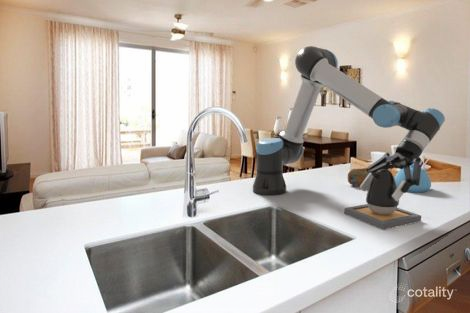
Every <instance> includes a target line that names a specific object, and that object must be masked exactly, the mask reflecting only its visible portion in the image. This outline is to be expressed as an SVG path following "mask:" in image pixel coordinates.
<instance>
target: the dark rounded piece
mask: <svg viewBox="0 0 470 313" xmlns="http://www.w3.org/2000/svg"><path fill="white" fill-rule="evenodd" d="M372 176H373V178H372V180H371V182H370V185H369V187H368V188H367V190H366V191H367V192H366V198H365V202H366V204H367V205H368V207H369V209H370V210H371V211H372V212H374V213H376V214H379V215H389V214H392V213H393V212H394V211H395V210H396V209H397V208H398V206H399V205H400V199H399V200H398V202H397V201H395V200H394V198H393V197H392V195H393V193H394V192H395V191H396V189H397V185H396V181H395V176H394V174H393V173H392V172H391V170H390V169H388V170H387V169H380V170H378V171H377V172H376V173H372Z"/></svg>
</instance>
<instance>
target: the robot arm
mask: <svg viewBox="0 0 470 313" xmlns="http://www.w3.org/2000/svg"><path fill="white" fill-rule="evenodd" d="M338 62H339V61H338V59H337V56H336V55H335V53H334V52H332V51H330V50H329V49H326V48H323V47H322V48H321V47H317V46H313V45H310V46H305V47H303V48H302V49H300V50H299V51H298V52H297V54H296V56H295V61H294V65H295V69H296V70H297V72H298V73H299V74H300V79H301V84H300V87H299V90H298V93H297V96H296V97H295V101H294V103H293V107H292V109H291V111H290V114H289V118H288V121H287V123H286V125H285V129H284V130H283V131H280V133H279V135H278V137H269V138H263V139H260V140H259V141H258V142H257V143H256V149H255V150H256V152H255V153H256V175H255V178H254V181H253V183H252V192H253V193H256V194H257V195H266V196H276V195H277V196H278V195H283V194H285V193H286V192H287V184H286V181H285V178H284V175H283V172H284V171H283V169H284V168H283V167H284V165H285V166H286V165H290V164H293V163H296V162H297V161H299V160H300V159H301V158H302V156H303V154H304V152H305V151H304V150H305V149H304V146H303V145H304V138H303V136H304V133H305V131H306V128H307V125H308V123H309V120H310V117H311V115H312V112H313V110H314V107H315V105H316V102H317V99H318V98H319V94H320V92H321V89H322V88H323V87H325V88H326V89H328V90H329V91H331V92H333V93H334V94H335V95H337V96H339V97H340V98H342V99H343V100H344V101H346V102H347V103H349V104H351V105H352V106H353V107H355V108H356V109H357V110H359V111H361V112H362V113H363V114H365V115H367V116H368V117H370V118H371V119H372V120H373V123H374V124H375V125H376V126H378V127H380V128H388V129H389V128H392V127H396V126H397V127H400V128H403V129H405V130H407V131H408V132H407V133H406V135H405V136H404V137H403V139H402V140H401V141H400V143H399V144H398V145H397V147H396V149H395V152H394V153H393V154H391V153H389V152H385V153H384V155H382V156H381V157H380V158H378V159H377V160H376V161H375V162H373V163H372V164H370V165H368V166H367V167H365V168H366V171H367V172H368V174H367V175H366V177H365V178H364V181H363V182H362V184H361V185H360V186H358V187H359V188H360V189H361V190H362V191H363V192H366V191H367V190H368V188H369V185H370V182H371V180H372V178H373V176H372V173H373V172H374V173H376V172H377V171H378V170H380V169H387V170H390V169H392V170H393V169H399V170H400V169H404V174H405V178H406V179H405V180H406V182H405V181H404V180H403V181H402V182H401V184H400V185H399V186H398V188H397V189H396V191H395V192H394V193H393V195H392V197H393V198H394V200H395V201H397V202H398V200H399V201H400V199H401V197H402V196H403V195H404V194H405V193H407V192H408V191H407V190H408V189H409V188H410V186H412V185H416V186H418V185H419V184H420V174H421V168H423V167H422V166H423V165H424V161H423V160H422V158H421V157H420V156H421V155H422V154H423V152H424V151H425V149H426V148H427V147H428V145H429V144H430V142H431V141H432V140H433V138H434V137H435V136H436V135H437V133H438V132H439V131H440V129H441V127H442V126H443V124H444V122H445V121H446V119H445V118H446V117H445V115H444V113H443V112H442V111H440V110H439V109H437V108H426V109H424V110H423V111H420V110H417V109H415V108H413V107H412V108H411V107H409V106H407V105H404V104H402V103H400V102H398V101H394V100H386V99H384V98H383V97H382V96H381V95H379V94H378V93H375V91H373V90H371V89H369V88H368V87H367V86H365V85H363V84H361V83H360V82H359V81H357V80H355V79H353V78H352V77H350V76H349V75H347V74H346V73H344V72H343V71H341V70H339V69H338V67H339V66H338V64H339V63H338ZM412 164H414V168H413V177H412V176H411V172H410V171H411V170H410V165H412Z"/></svg>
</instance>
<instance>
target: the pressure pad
mask: <svg viewBox="0 0 470 313" xmlns="http://www.w3.org/2000/svg"><path fill="white" fill-rule="evenodd" d="M356 211H359V212H361V213H364V214H367V215H369V216H372V217H374V218H377V219H379V220H382V221H385V220H389V219H394V218H399V217H404V216H409V215H408V214H405V213H402V212H399V211H396V210H395V211H394V212H393V213H392V214H389V215H379V214H376V213H374V212H372V211H371V210H370V209H369V207H367V208H361V209H356Z"/></svg>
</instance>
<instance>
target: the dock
mask: <svg viewBox="0 0 470 313" xmlns="http://www.w3.org/2000/svg"><path fill="white" fill-rule="evenodd" d="M367 207H368V205H367V203H365V204H359V205H355V206H354V205H353V206H347V207H344V208H343V214H345V215H347V216H349V217H351V218H354V219H357V220H359V221H361V222H364V223H366V224H368V223H369V224H368V225H371V226H373V225H374V226H373V227H375V226H376V227H375V228H378V229H380V228H381V229H380V230H382V229H384V230H388V229H393V228H396V226H398V227H401V225H402V226H405V224H407V225H410V223H411V224H416V223H420V222H422V215H421V214H418V213H415V212H412V211H409V210H406V209H402V208H400V207H397V209H396V211H399V212H402V213H405V214H408V215H409V216H404V217H399V218H394V219H389V220H385V221H382V220H379V219H377V218H374V217H372V216H369V215H367V214H364V213H361V212H359V211H356V209H361V208H367ZM419 221H420V222H419ZM415 222H416V223H415ZM392 227H393V228H392ZM387 228H388V229H387Z"/></svg>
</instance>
